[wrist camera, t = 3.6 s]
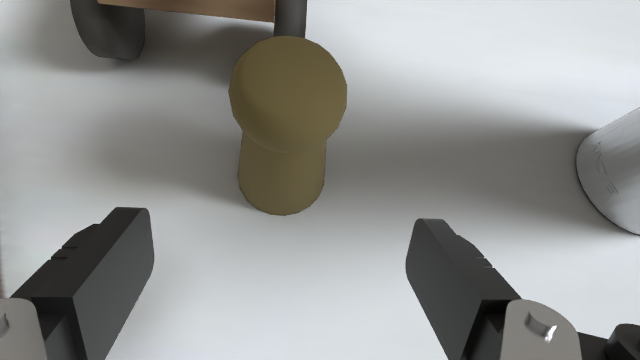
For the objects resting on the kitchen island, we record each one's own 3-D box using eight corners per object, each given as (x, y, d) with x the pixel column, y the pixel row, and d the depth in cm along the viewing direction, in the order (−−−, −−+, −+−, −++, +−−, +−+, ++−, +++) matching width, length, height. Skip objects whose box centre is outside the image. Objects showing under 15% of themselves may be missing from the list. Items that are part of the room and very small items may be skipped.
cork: (295, 232, 22) (317, 165, 12) (219, 185, 23) (179, 82, 13) (339, 163, 25) (389, 58, 14) (269, 121, 25) (270, -10, 15)
